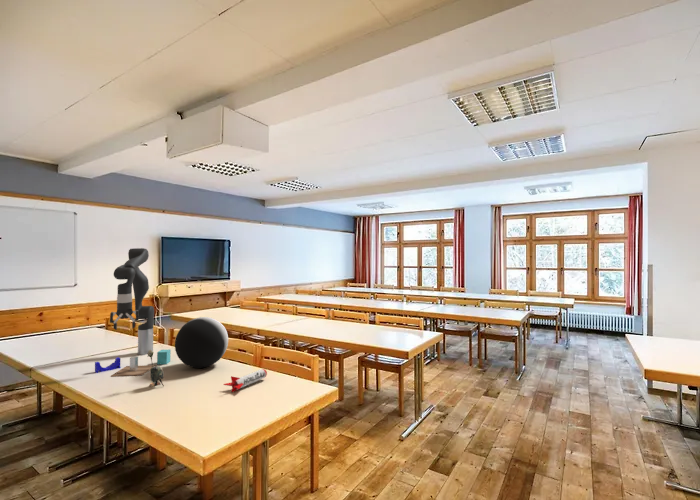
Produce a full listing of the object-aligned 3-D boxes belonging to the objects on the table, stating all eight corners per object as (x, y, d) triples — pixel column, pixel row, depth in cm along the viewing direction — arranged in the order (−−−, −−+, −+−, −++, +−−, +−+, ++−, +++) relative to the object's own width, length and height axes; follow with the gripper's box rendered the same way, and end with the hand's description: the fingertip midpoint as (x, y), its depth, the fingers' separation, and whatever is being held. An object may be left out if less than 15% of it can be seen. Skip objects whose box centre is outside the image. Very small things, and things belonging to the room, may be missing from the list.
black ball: (236, 359, 224) (236, 313, 224) (213, 376, 194) (213, 323, 194) (192, 358, 227) (192, 312, 227) (163, 374, 197) (163, 321, 197)
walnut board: (126, 368, 207) (126, 366, 207) (154, 367, 209) (154, 365, 209) (111, 377, 191) (111, 375, 191) (141, 376, 193) (141, 374, 193)
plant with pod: (152, 393, 170) (152, 353, 170) (143, 387, 177) (143, 349, 177) (169, 388, 176) (169, 349, 176) (159, 383, 184) (160, 345, 184)
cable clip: (117, 366, 210) (117, 356, 210) (120, 368, 207) (120, 358, 207) (93, 372, 200) (94, 361, 200) (96, 373, 198) (96, 363, 198)
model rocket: (272, 383, 185) (273, 364, 185) (238, 399, 165) (238, 378, 165) (258, 379, 190) (258, 361, 190) (223, 394, 170) (223, 374, 170)
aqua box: (161, 361, 219) (161, 349, 219) (170, 361, 220) (170, 349, 220) (157, 364, 214) (157, 352, 214) (166, 364, 214) (166, 352, 214)
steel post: (132, 369, 201) (132, 356, 201) (137, 369, 202) (138, 356, 202) (129, 371, 198) (129, 358, 198) (135, 370, 199) (135, 357, 199)
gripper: (139, 299, 210) (139, 326, 210) (111, 301, 203) (110, 328, 203) (138, 301, 203) (138, 328, 203) (109, 303, 197) (109, 331, 197)
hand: (124, 328), depth 203 cm, fingers open, 8 cm apart
